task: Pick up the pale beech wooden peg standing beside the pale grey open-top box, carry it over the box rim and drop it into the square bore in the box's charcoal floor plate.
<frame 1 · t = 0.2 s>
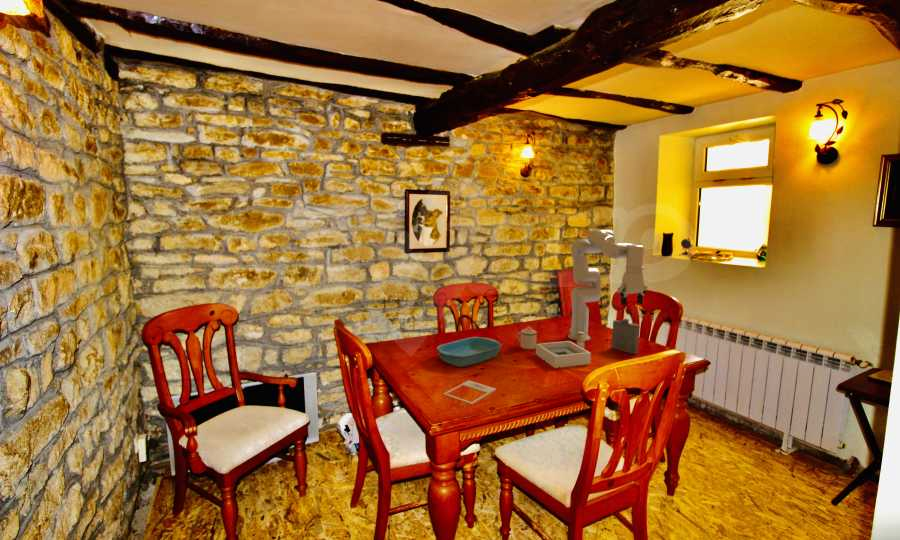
hand: (631, 304, 215), 31 cm above the table, tool pointing down, fingers open, 9 cm apart
open top box: (562, 359, 225), on the table
flask: (623, 351, 239), on the table
teacup with lid: (526, 346, 245), on the table
peg: (580, 350, 239), on the table
casserole dish: (469, 358, 227), on the table
photo frame: (470, 393, 185), on the table
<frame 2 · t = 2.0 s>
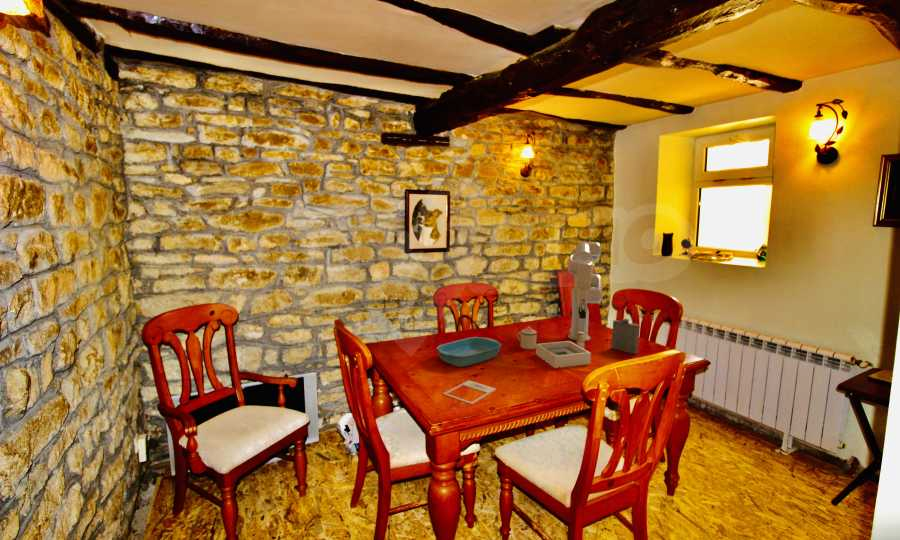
hand: (581, 316, 236), 19 cm above the table, tool pointing down, fingers open, 9 cm apart
nothing on the table moved.
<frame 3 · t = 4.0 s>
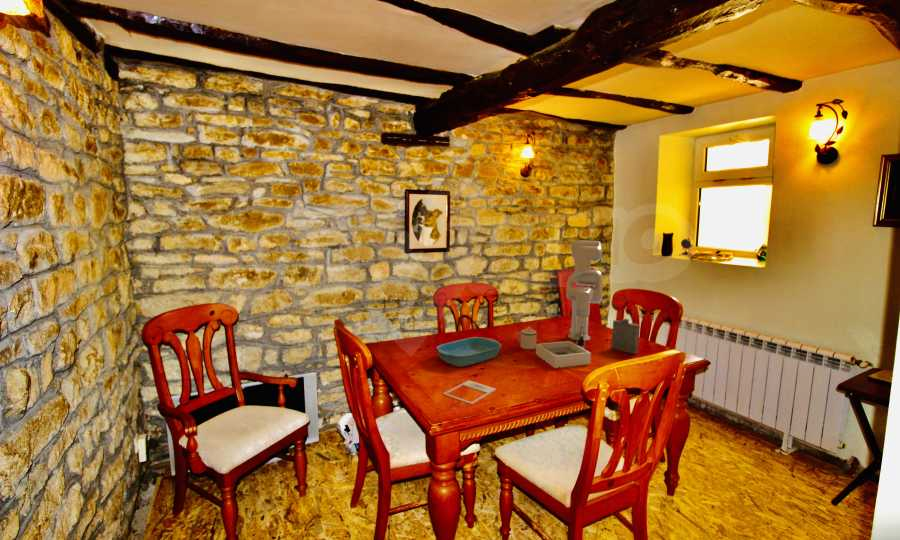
hand: (580, 344, 239), 3 cm above the table, tool pointing down, fingers closed on peg, 4 cm apart
peg: (580, 350, 239), on the table, touching gripper
everything else where it was.
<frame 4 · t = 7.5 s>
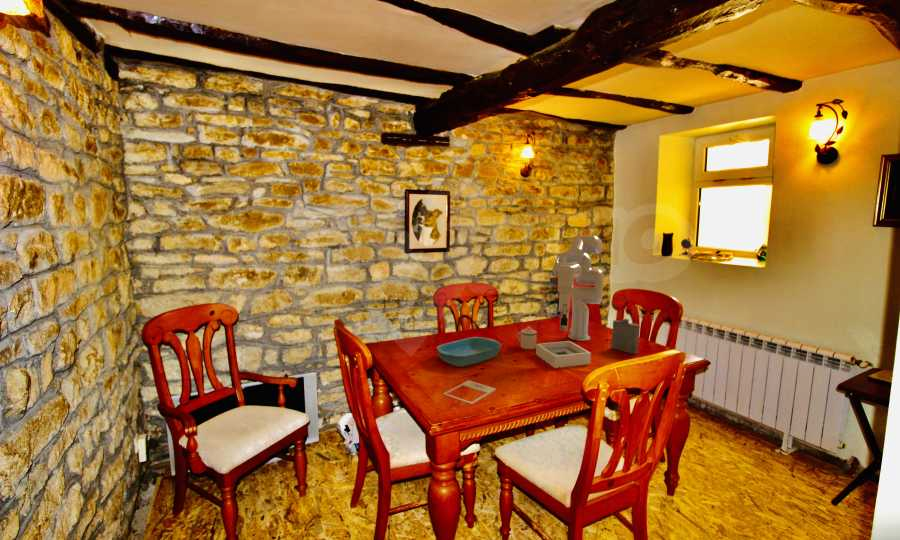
hand: (563, 323, 222), 19 cm above the table, tool pointing down, fingers closed on peg, 4 cm apart
peg: (563, 329, 223), point 16 cm above the table, touching gripper
everything else where it was.
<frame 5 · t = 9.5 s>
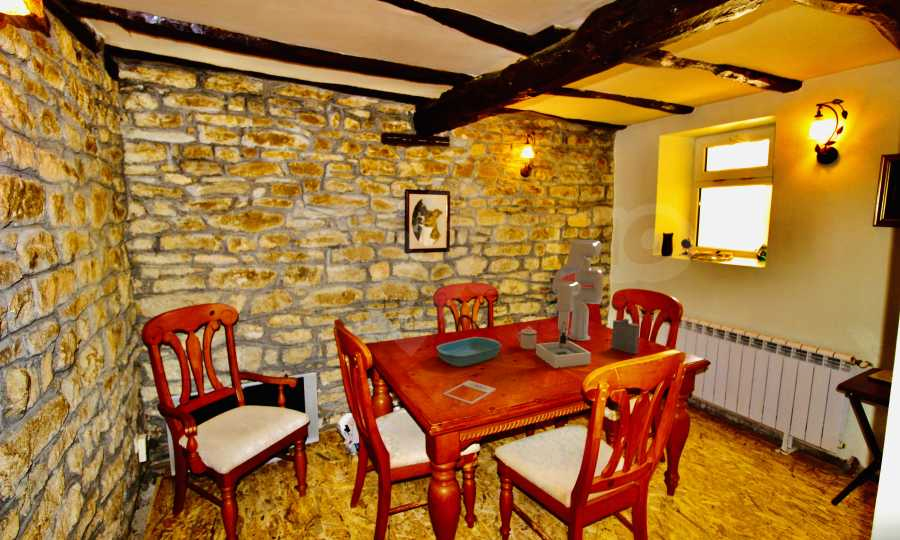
hand: (563, 341, 223), 10 cm above the table, tool pointing down, fingers closed on peg, 4 cm apart
peg: (562, 347, 224), point 6 cm above the table, touching gripper
everything else where it was.
when the fingers open (5 cm above the table, at t = 11.1 s): peg drops 1 cm, resting in open top box.
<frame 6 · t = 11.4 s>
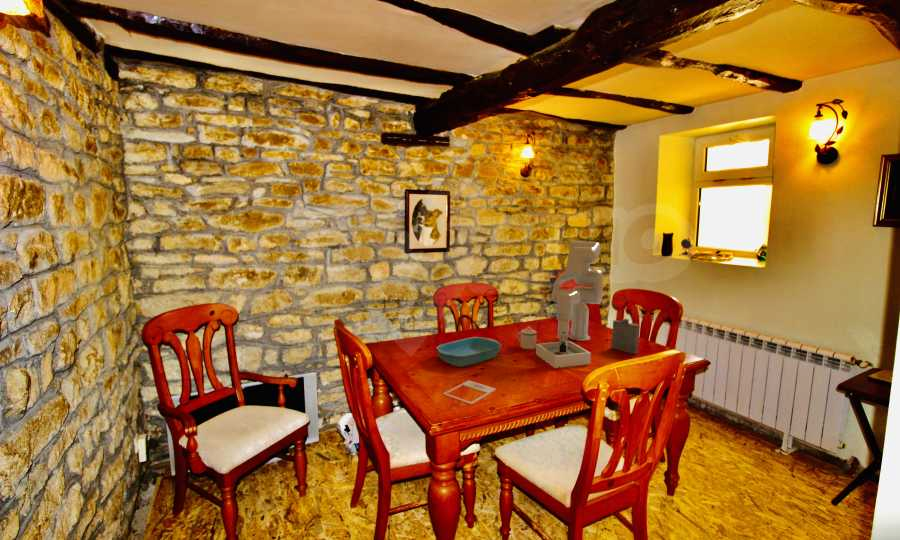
hand: (562, 349, 224), 5 cm above the table, tool pointing down, fingers open, 7 cm apart
peg: (562, 359, 225), resting in open top box
everything else where it was.
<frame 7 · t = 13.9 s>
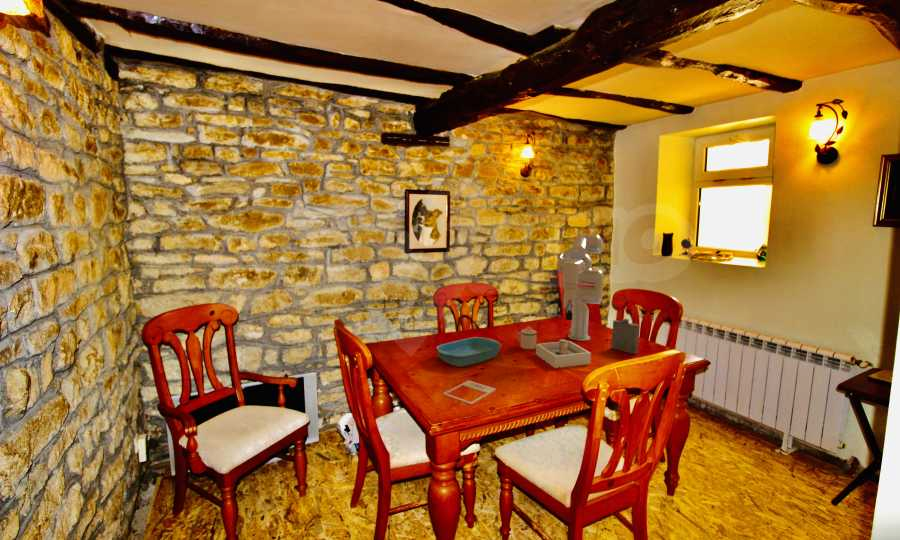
hand: (568, 317, 226), 21 cm above the table, tool pointing down, fingers open, 9 cm apart
nothing on the table moved.
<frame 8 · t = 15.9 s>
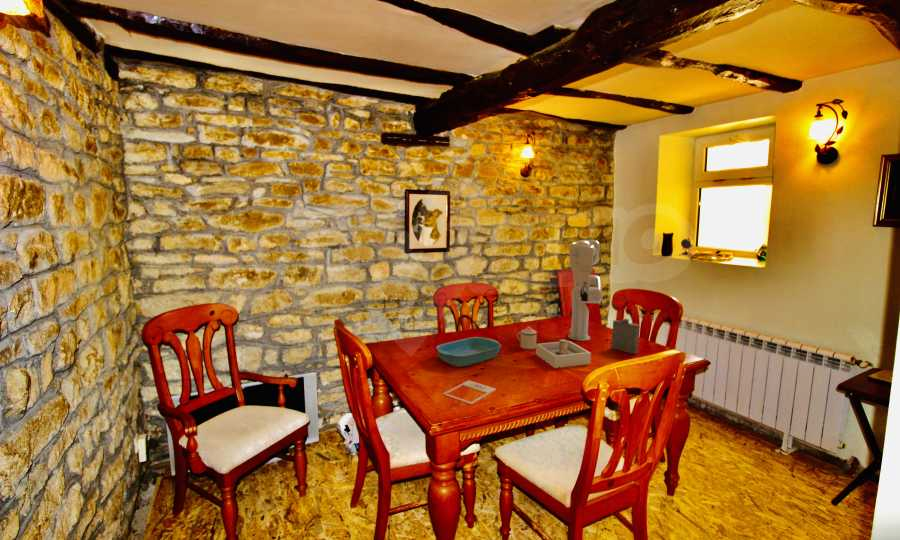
hand: (583, 299, 237), 28 cm above the table, tool pointing down, fingers open, 9 cm apart
nothing on the table moved.
at the end: peg 0.1 cm off-centre on the open top box, point 0.0 cm above the open top box's base; peg tilted 0°; the gripper is holding nothing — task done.
